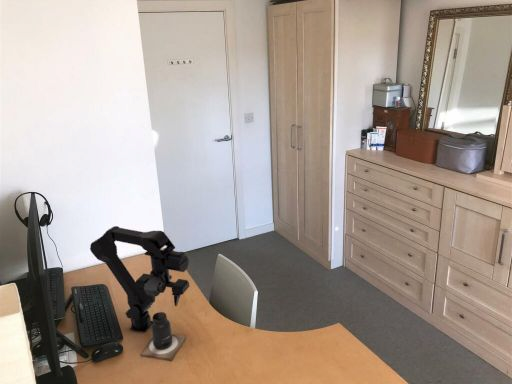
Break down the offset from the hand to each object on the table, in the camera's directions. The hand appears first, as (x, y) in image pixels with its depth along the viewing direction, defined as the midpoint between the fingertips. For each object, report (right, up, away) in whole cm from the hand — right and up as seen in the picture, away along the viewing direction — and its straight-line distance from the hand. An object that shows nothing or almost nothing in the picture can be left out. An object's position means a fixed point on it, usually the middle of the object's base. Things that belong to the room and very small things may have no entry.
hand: (164, 303), depth 162 cm
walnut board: (0, -15, -3) cm, 15 cm away
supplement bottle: (0, -14, -3) cm, 14 cm away
